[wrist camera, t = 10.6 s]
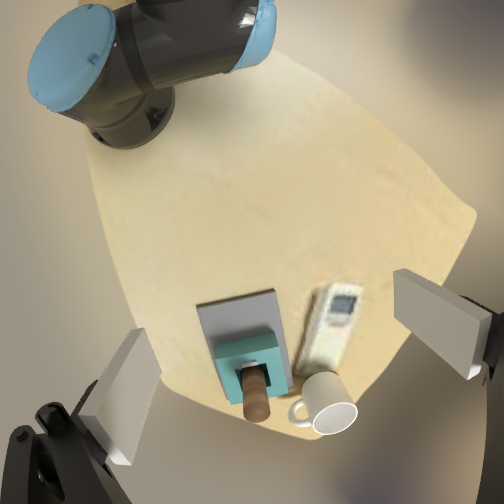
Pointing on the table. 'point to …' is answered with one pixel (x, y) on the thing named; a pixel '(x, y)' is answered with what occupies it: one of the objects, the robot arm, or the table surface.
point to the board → (244, 325)
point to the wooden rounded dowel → (255, 394)
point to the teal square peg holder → (251, 364)
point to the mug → (325, 404)
